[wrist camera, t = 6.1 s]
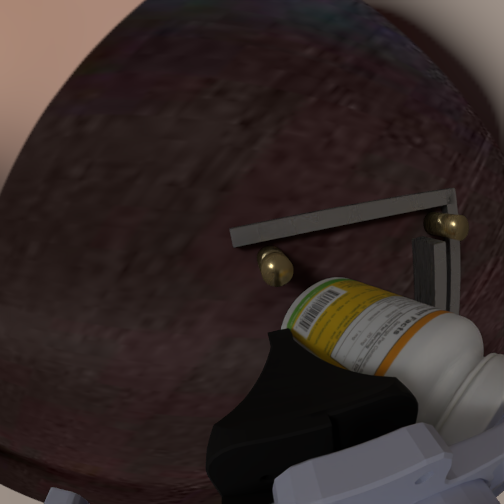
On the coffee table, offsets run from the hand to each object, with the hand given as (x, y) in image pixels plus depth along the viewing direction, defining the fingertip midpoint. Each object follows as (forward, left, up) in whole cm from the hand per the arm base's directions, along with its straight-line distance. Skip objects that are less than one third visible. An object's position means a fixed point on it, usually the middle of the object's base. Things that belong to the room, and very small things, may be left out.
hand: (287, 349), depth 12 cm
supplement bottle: (-1, -2, -2) cm, 3 cm away
